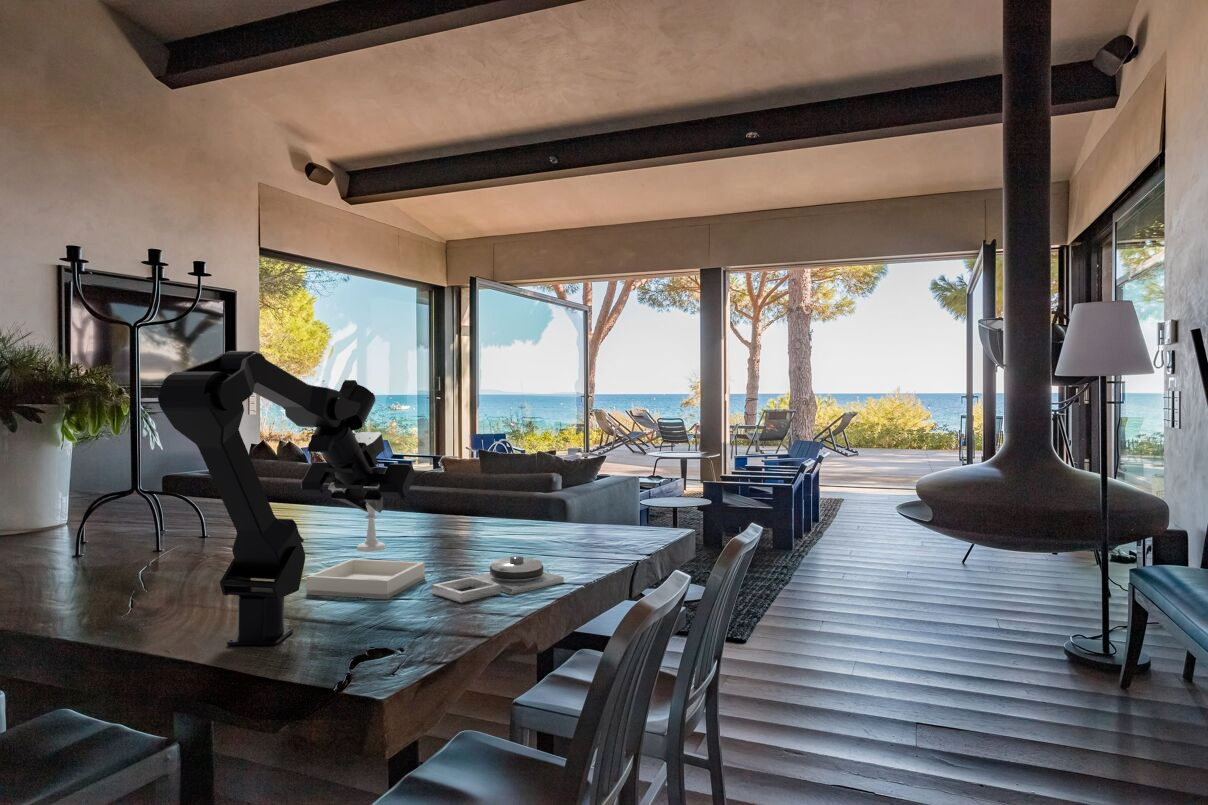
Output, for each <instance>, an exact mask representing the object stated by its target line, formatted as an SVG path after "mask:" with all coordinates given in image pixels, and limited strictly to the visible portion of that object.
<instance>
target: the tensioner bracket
mask: <svg viewBox="0 0 1208 805" xmlns="http://www.w3.org/2000/svg"><path fill="white" fill-rule="evenodd" d="M564 580H565V577H564V576H562V575H557V574H553V573H549V572H545V571H544V565H543V562H542V561H541V560H539V559H534V558H529V557H527V558H526V557H524V556H519V555H516V556H515V555H514V556H510V557H508V558H502V559H496V560H494V561H492V562H491V565H490V566H489V572H488V573H487V572H486V573H482V574H477V575H472V576H468V577H464V578H459V579H453V580H449V581H445V582H444V581H443V582H439V583H434V584H433V583H432V585H431V594H432V595H435V596H439V597H442V598H445V599H448V600H451V601H453V602H454V601H455V602H457V603H460V604H462V603H465V602H471V601H475V600H478V599H482V598H486V597H487V598H488V597H492V596H496V595H499V594H501V593H505V594H508V595H511V596H513V595H517V594H520V593H524V592H529V591H533V590H538V589H541V588H547V587H550V586H554V585H560V584H562V583H564V582H565V581H564ZM466 588H472V589H469V590H464V591H461V590H462V589H466Z"/></svg>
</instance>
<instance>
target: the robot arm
mask: <svg viewBox="0 0 1208 805" xmlns="http://www.w3.org/2000/svg"><path fill="white" fill-rule="evenodd" d="M253 394H256V395H258V396H260V397H261V398H263V399H265V400H268V401H270V402H271V403H273V404H276V405H277V406H279V407H281V408H283V409H284V412H285V417H286V418H287V419H289V420H290V421H291V422H292V423H293V424H295V425H296V426H298V427H299V428H315V430H314V432H313V434H312V435H311V437H310V441H309V443H308V445H307V452H308V453H321V454H322V457H324V460H325V461H314V462H312V463H311V465H310V466H309V467H308V469H307V472H306V473H305V475H304V477H303V478H302V479H301V481H300V489H301V491H302V492H303V494H304V495H305V496H306V497H316V498H317V497H321V496H322V495H323V493H324V490H323V488H322V487H323V485H324V484H329V485H328V486H327V489H328V490H330V491H331V495H330V498H331V499H332V500H337V501H339V502H341V503H345V504H348V505H350V506H352V507H354V508H356V509H359V510H361V511H363V512H366V513H368V511H367V508H366V503H368V504H369V505H370V506H371V507H372V508H373V509H374V510H376V511H375V512H378V513H379V514H381V513H382V511H383V509H384V498H385V499H387V500H404V499H405V498H406V497H407V495H408V494H409V491H410V488H411V485H412V484H413V481H414V479H415V477H416V473H417V472H415V469H414V467H413V466H412V464H411V463H389V464H387V467H377V465H378V462H379V461H378V459H377V457H378V456H379V455H380V454H381V453H382V452H384V451H385V450H386V449H385V445H384V443H385V442H384V440H383V435H382V432H378V431H377V432H375V431H374V432H373V431H362V432H361V431H360V432H353V431H358V430H360V429H362V428H363V426H364V425H365V423H366V420H367V419H368V417H369V414H370V413H371V411H372V409H373V407H374V405H375V403H376V396H375V394H374V393H373V392H371V390H370V389H368V388H367V387H365V386H363V385H360V384H358V382H357V380H355V379H344V380H343V382H342V384H341V387H340V389H339V390H338V389H337V390H336V389H333V388H330V387H324V386H317V385H312V384H308V383H306V382H305V381H303V380H301V379H300V378H298V377H296V376H295V375H293V374H291V373H290V372H288V371H286V370H284V368H281V367H279V366H278V365H276V364H274V363H273V362H271V361H269V360H267V359H266V358H265V356H264V355H263V354H262V353H261V352H257V351H254V350H229V351H225V352H224V353H221V354H219V355H218V356H216V357H214V358H213V359H211V360H208V361H204V362H202V363H199V364H197V365H193V366H191V367H188V368H186V369H184V370H182V371H174V372H173V373H170V374H168V375H167V376H166V377H165V379H164V380H163V382H162V384H161V385H160V387H159V390H158V393H157V401H158V404H159V407H160V409H161V411H162V412H163V413H164V415H165V417H166V418H167V420H168V421H169V423H170V424H171V426H172V427H173V428H174V429H175V430H176V431H177V432H178V433H180V434H181V435H183V436H184V437H185V438H187V439H188V440H189V441H191V442H192V443H193V444H195V445H196V446H197V448H198V450H199V452H200V455H201V457H202V460H203V461H204V464H205V465H206V468H207V470H208V472H209V475H210V477H211V479H212V481H213V483H214V485H215V487H216V490H217V492H218V494H219V496H220V498H221V500H222V503H223V504H224V507H225V509H226V511H227V513H228V515H229V518H230V520H231V522H232V524H233V527H234V529H235V531H236V532H235V533H236V535H235V538H234V541H233V545H232V548H231V552H232V555H233V559H232V561H231V562H230V564H229V566H228V568H227V569H226V571H225V573H224V574H223V576H222V578H221V579H220V581H219V586H220V588H221V589H220V590H221V594H222V596H237V634H236V635H233V636H232V637H231V638H230V639H228V640H226V646H274V645H278V643H280V642H281V641H283V640H284V639H285V638H286V637H287V636H289V635H290V634H291V633H292V632H294V627H293V626H285V597H286V596H289V595H291V594H294V593H296V592H299V590H300V587H301V580H302V576H303V571H304V569H305V568H304V567H305V563H306V562H305V561H306V552H305V549H304V545H303V544H302V543H304V542H305V540H304V538H302V536H301V534H300V532H299V529H298V525H297V523H296V521H295V520H294V519H293V518H277V517H276V515H275V514H274V512H273V509H272V507H271V504H270V502H269V499H268V497H267V494H266V492H265V490H264V487H263V486H262V485H263V484H262V483H261V480H260V478H259V475H258V473H257V470H256V468H255V466H254V464H253V461H252V458H251V457H250V456H251V455H250V454H249V452H248V449H247V447H246V444H245V442H244V439H243V437H242V434H241V432H240V426H241V423H242V418H243V416H244V412H245V407H244V404H243V403H244V402H245V401H247V400H248V399H249V398H250V397H252V396H253ZM364 488H365V489H367V492H366V493H365V491H364V490H363V489H364ZM254 579H256V580H254ZM257 579H258V580H257ZM270 580H273V581H270Z"/></svg>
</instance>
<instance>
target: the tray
mask: <svg viewBox="0 0 1208 805" xmlns="http://www.w3.org/2000/svg"><path fill="white" fill-rule="evenodd" d="M425 563H426V562H423V561H405V560H404V561H400V560H384V559H383V560H381V559H364V558H363V559H361V558H360V559H359V558H350V559H348V560H345V561H343V562H340V563H338V564H335V565H333V566H330V567H328V568H325V569H323V570H320V571H317V572H315V573H312V574H310V575H307V576H306V587H305V588H306V593H305V594H306V595H307V596H308V595H309V596H310V595H311V596H324V597H327V596H328V597H339V598H340V597H344V598H357V597H359V598H360V597H361V598H360V599H375V600H377V599H378V600H388V599H391V598H392V597H395V595H398V594H400V593H401V592H403V591H406V590H407V589H409V588H410V587H412V586H414V585H416V584H418V583H419V582H421V581H423V580H424V579H425V578H426V564H425Z"/></svg>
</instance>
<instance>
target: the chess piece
mask: <svg viewBox="0 0 1208 805" xmlns="http://www.w3.org/2000/svg"><path fill="white" fill-rule="evenodd" d="M366 508H367V511H368V512H367V515H366V516H364V519H366V520H368V521H367V522H368V524H367V529H366V539H364V542H361V543H359V544H357V545H356V551H357V552H364V553H370V552H371V553H372V552H374V553H375V552H380V551H384V550H386V549H387V547H386V544H385V543H384V542H381V541H379V539H378V538H377V534H376V526H375V525H376V524H375V519H379V517H378V515H377V514H376V515H375V513H376V512H377V511H376V510H374V509H373V508H372V507H371V506H370V505H369V504H368V503H366Z"/></svg>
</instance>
